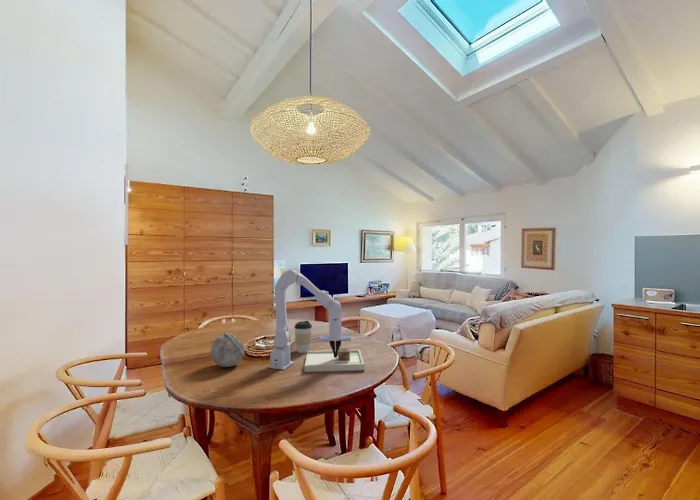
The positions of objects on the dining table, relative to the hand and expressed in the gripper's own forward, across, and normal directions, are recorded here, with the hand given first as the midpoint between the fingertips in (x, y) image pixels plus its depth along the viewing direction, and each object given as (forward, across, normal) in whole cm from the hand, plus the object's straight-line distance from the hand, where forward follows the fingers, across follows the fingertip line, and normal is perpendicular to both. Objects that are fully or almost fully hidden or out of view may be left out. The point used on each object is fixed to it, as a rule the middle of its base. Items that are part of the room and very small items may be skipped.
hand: (335, 356), depth 149 cm
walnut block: (+1, +4, 0) cm, 4 cm away
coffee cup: (+3, -16, +20) cm, 26 cm away
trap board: (+3, -1, 0) cm, 3 cm away
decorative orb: (+3, -49, 0) cm, 49 cm away
